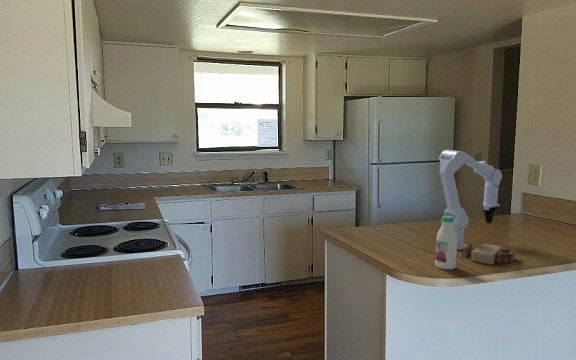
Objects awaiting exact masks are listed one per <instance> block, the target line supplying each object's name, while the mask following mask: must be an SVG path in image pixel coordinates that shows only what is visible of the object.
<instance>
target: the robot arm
mask: <svg viewBox="0 0 576 360" xmlns="http://www.w3.org/2000/svg"><path fill="white" fill-rule="evenodd" d="M438 157H439V158H438V159H439V163H440V165H439V176H440V181H441V185H442V189H443V193H444V198H445V202H446V208H445V209H444V210H443V213H444V215H443V216H452V217H454V223H453V226H454V230H455V232H456V235H457V250H463V248H464V247H465V246H467V244H465V243H464V238H465V237H464V236H465V235H464V234H465V229H466V228H467V227H468V225H469V221H470V218H469V217H468V215H467V213H466V210H465V209H464V208H463V207H462V206H461V203H460V197H459V193H458V188H457V184H456V179H455V178H456V177H455V175H454V174H455V173H456V172H457V171H458V170H459V169H460V168H461V167H462V166H463V165H466V166H468V167H471V168H472V169H473V172H474V173H476V174H478V175H479V176H481V177H482V178H483V180H484V190H483V191H484V192H483V193H484V195H483V202H482V206H483V207H482V211H483V214H484V217H485V222H486V224H493V223H492V222H493V220H494V217H495V214H496V212H497V210H498V208H497V207H500V206H501V205H500V204H499V203H498V198H499V197H498V196H499V185H500V184H501V180H502V178H503V175H502V171H501V170H500V169H498V168H494V166H493V165H489V164H488V163H487V162H486V161H485V160H481V161H478V160H477V159H475V158H473V157H472V156H471V155H469V154H468V153H467V152H464V151H462V150H451V149H443V150H442V151H441V154H440V155H439V156H438Z"/></svg>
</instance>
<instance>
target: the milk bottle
mask: <svg viewBox="0 0 576 360" xmlns="http://www.w3.org/2000/svg"><path fill="white" fill-rule="evenodd" d="M453 223H454V217H452V216H444V215H443V216H441V226H440V228H439V230H438V232H437V234H436V241H435V253H434V254H435V257H434V264H435V267H436V268H438V269H442V270H454V269H455V268H456V265H457V264H456V263H457V253H458V252H457V250H458V249H457V235H456V232H455V230H454V226H453Z"/></svg>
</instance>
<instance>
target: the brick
mask: <svg viewBox="0 0 576 360" xmlns="http://www.w3.org/2000/svg"><path fill="white" fill-rule="evenodd" d="M502 249H503V248H502V246H499V245H495V244H488V243H487V244H485V243H482V244H480V245H478V247H477V248H475V249H472V252H471V253H470V255H471V258H470V259H471V261H473V262H475V263H481V264H483V265H485V264H486V265H494V263H496V256H497V254H498V253H499V252H502Z"/></svg>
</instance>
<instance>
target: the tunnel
mask: <svg viewBox="0 0 576 360" xmlns="http://www.w3.org/2000/svg"><path fill="white" fill-rule="evenodd" d="M473 244H474V243H468V244H466V246H465V247H464V248H462V255H461V256H462V257H464V258H466V257H467V256H469V255H471V252H472V251H473V246H474V245H473ZM501 249H502V250H501V252H499V253H498V254H497V256H496V262H495V263H496V264H500V263H501V262H502V263H508V264H511V263H512V262H514V260H515V257H516V250H515V249H510V248H504V247H503V248H501Z"/></svg>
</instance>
